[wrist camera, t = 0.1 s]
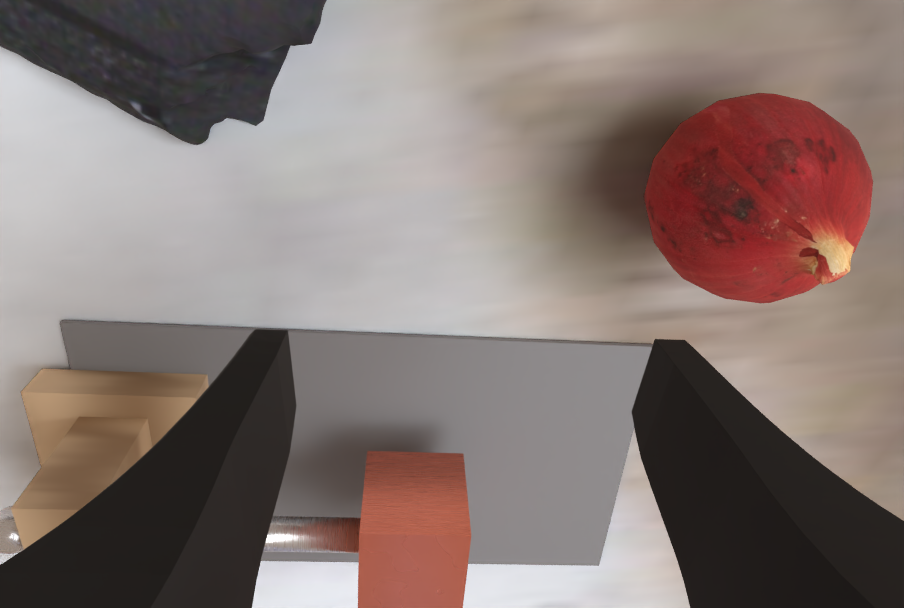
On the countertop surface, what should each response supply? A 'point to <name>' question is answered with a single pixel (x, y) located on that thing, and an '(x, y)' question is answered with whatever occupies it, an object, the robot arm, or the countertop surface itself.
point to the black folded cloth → (165, 53)
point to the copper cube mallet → (382, 531)
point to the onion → (759, 198)
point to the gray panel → (430, 422)
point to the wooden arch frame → (93, 435)
